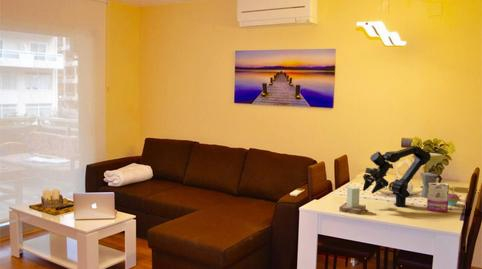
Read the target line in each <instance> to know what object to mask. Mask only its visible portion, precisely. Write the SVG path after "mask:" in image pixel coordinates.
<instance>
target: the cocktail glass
mask: <svg viewBox="0 0 482 269" xmlns="http://www.w3.org/2000/svg"><path fill="white" fill-rule="evenodd" d="M428 152H429V153H430V156H431V158H430V160H429V161H428V162H427V163H426V164H425V165H426V166H427V168H428V170H431V168H432V167H434V165H436V164H439V163H441V162H443V161H444V159H445V154H444V153H441V152H435V151H428ZM420 188H421V189H423V185H421V186H420Z"/></svg>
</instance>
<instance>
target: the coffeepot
mask: <svg viewBox="0 0 482 269" xmlns="http://www.w3.org/2000/svg"><path fill="white" fill-rule="evenodd" d="M431 171H432V170H431V169H430V170H429V169H428V171H427V172H421V173H420V176H421V179H422V184H423V185H422V186H423V188H421V195H420V196H421V197H422V198H426V199H427V195H428V182H434V183H442V180H443V177H442V176H441V175H440V174H436V173H433V172H431ZM437 178H438V182H436V181H437Z"/></svg>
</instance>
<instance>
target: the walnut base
mask: <svg viewBox="0 0 482 269" xmlns="http://www.w3.org/2000/svg"><path fill="white" fill-rule="evenodd" d="M366 209H367V205H365V204H360V203H359V207H354V208H351V207H349V206H347V202H345V203H343V204H342V205H340V206H339V212H341V211H342V212H341V213H343V212H344V213H347V212H349V213H348V214H354V215H361V214H362V213H363V212H365V211H366Z"/></svg>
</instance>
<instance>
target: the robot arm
mask: <svg viewBox="0 0 482 269" xmlns="http://www.w3.org/2000/svg"><path fill="white" fill-rule="evenodd" d="M429 152H430V151H426V150H424V149H423V148H421V147H419V146H417V145H410V146H408V147H405V148H403V149H399V150H397V151H391V150H390V151H386V152H385V153H384V154H382V153H381V152H380V151H376V152H375V153H373V154H372V155H370V157H369V160H370V161H371V162H372V163H373V164H374V165H375V166H377V167H372V168H370V167H366V168H365V172H364V173H365V174H363V176H362V178H363V180H364V182H363V183H364V184H363V187H362V192H365V191H366V190H367V189H369V188H370V187H371V186H372V185H373V184H374V182H375V185H374V186H373V188H372V190H371V194H375V193H377V192H378V191H380V190H382V189H384V188H386V187H388V186H389V184H390V183H389V181H388V180H387V179H385V178H384V177H387V173H388V171H389V170H390V169H392V170H394V165H393V164H395V163H397V162H399V161H400V160H401V158H404V157H407V156H411V155H413V156H414V158H413V162H412V164H410V166H409V167H408V169H407V170H406V171H405V173H404V174H403V176H402V177H401V178H399V179H397V178H395V180H394V181H393V182H392V184H391V191H392V195H395V202H394V203H393V205H394V206H395V207H398V208H399V207H401V208H402V207H404V208H408V205H407V202H406V201H407V200H406V199H407V198H409V197H410V194H411V193H410V192H409V190H408V188H409V182H411V180H412V179H413V178H414V176H415V175H416V173H417V172H418V171H419V170H420V168H421V167H422V166H424V165H426V163H427V162H428V161H429V160H430V158H431V156H430V153H429Z"/></svg>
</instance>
